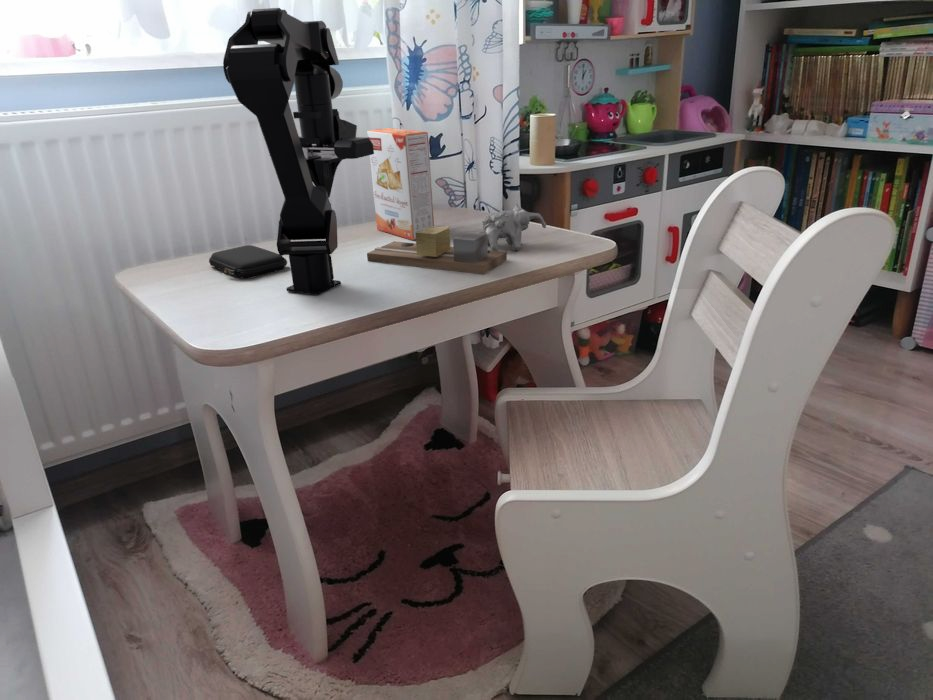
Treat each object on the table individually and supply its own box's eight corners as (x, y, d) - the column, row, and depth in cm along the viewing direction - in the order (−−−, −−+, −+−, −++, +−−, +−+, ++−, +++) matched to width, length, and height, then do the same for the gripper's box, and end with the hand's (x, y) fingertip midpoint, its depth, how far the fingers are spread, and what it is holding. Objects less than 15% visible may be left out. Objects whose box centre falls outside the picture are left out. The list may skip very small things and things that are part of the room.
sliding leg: (436, 257, 120) (435, 234, 119) (417, 255, 122) (415, 232, 121) (457, 246, 126) (456, 224, 125) (438, 244, 128) (436, 223, 127)
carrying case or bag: (201, 269, 128) (237, 284, 118) (197, 253, 127) (234, 267, 117) (253, 257, 135) (292, 270, 125) (251, 241, 134) (290, 254, 124)
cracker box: (375, 230, 149) (365, 129, 141) (398, 225, 153) (390, 126, 145) (411, 241, 139) (403, 133, 131) (435, 236, 143) (429, 130, 134)
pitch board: (484, 274, 117) (483, 242, 114) (367, 261, 127) (364, 231, 125) (506, 260, 124) (506, 229, 122) (394, 248, 135) (392, 220, 132)
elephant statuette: (474, 248, 134) (471, 209, 131) (526, 235, 139) (524, 197, 135) (499, 259, 126) (496, 218, 123) (553, 245, 131) (551, 205, 128)
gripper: (387, 99, 118) (395, 191, 124) (302, 101, 126) (314, 187, 133) (348, 105, 109) (358, 204, 115) (259, 106, 117) (273, 198, 124)
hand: (326, 197), depth 122 cm, fingers closed
